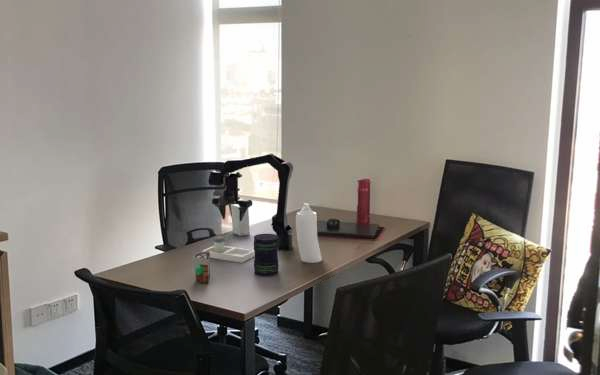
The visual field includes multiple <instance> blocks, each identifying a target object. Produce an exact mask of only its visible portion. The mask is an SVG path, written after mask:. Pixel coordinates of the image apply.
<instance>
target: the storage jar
mask: <svg viewBox="0 0 600 375" xmlns="http://www.w3.org/2000/svg"><path fill="white" fill-rule="evenodd" d="M253 250H254V251H255V256H254V260H253V270H254V272H253V273H254V275H255V276H257V277H263V278H265V277H266V278H268V277H270V278H271V277H275V276H276V275H278V274H279V259H278V256H279V255H278V254H279V253H278V251H279V249H278V236H277V235H276V233H274V234H273V233H258V234H256V235H254V236H253Z"/></svg>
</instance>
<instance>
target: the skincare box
mask: <svg viewBox="0 0 600 375" xmlns="http://www.w3.org/2000/svg"><path fill="white" fill-rule="evenodd" d="M230 206H231V210H230V211H231V224H232V225H231V227H232V228H231V229H232V233H233V234H235V235H238V236H249V235H250V230H251V229H250V216H249V208H247V210H246V212H245V214H244V217H243V219H242V221H240V210H239V207H240V206H239V204H231V205H230Z"/></svg>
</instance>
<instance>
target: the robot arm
mask: <svg viewBox="0 0 600 375" xmlns="http://www.w3.org/2000/svg"><path fill="white" fill-rule="evenodd" d="M265 164H269V165H270V167H272V168H273V169H274V170H276V171H277V178H278V184H279V185H278V197H277V206H276V214H274V215H272V217H271V225H270V226H271V228H272V230H273V231H274V232H275V235H277V236H278V251H279V250H281V251H287V252H288V251H289V250H292V249H293V248H294V246H293V235H292V232H293V228H292V227H291V226H290V225H289V221H288V215H287V206H288V205H287V204H288V195H289V185H290V180H291V178H292V175H293V171H294V165H293V164H292V163H291V162H290V161H285V160H284V159H283V158H281V157H278V156H277V155H275V154H274V153H271V152H269V153H267V154H262V155H258V156H252V157H248V158H231V159H228V160H226V161H224V163H223V168H222V169H221V170H220V171H215V170H211V171H210V172H209V173H210V174H209V176H208V181H207V182H208V186H210V187H223V186H225V189H223V194H221V195H220V196H219V195H218V196H214V197H213V198H212V199H211V204H212V205H214V206H215V207H216V208H218V210H219V212H220V213H219V214H220V216H221V217H222V220H225V219H226V212H227V210H226V209H227V206H229V205H230V204H231V205H233V204H239V206H240V207H239V210H240V221H242V219H243V217H244V214H245V212H246V210H247V208H248V209H249V208H250V207H252V206H253V201H252V199H250V198H249V199H248V198H242V199H241V200H240V198H241V197H239V191H240V187H239V179H240V178H242V177H243V174H241V173H240V170H242V169H244V168H248V167H253V166H259V165H265ZM237 171H238V172H237ZM235 172H236V173H235Z"/></svg>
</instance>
